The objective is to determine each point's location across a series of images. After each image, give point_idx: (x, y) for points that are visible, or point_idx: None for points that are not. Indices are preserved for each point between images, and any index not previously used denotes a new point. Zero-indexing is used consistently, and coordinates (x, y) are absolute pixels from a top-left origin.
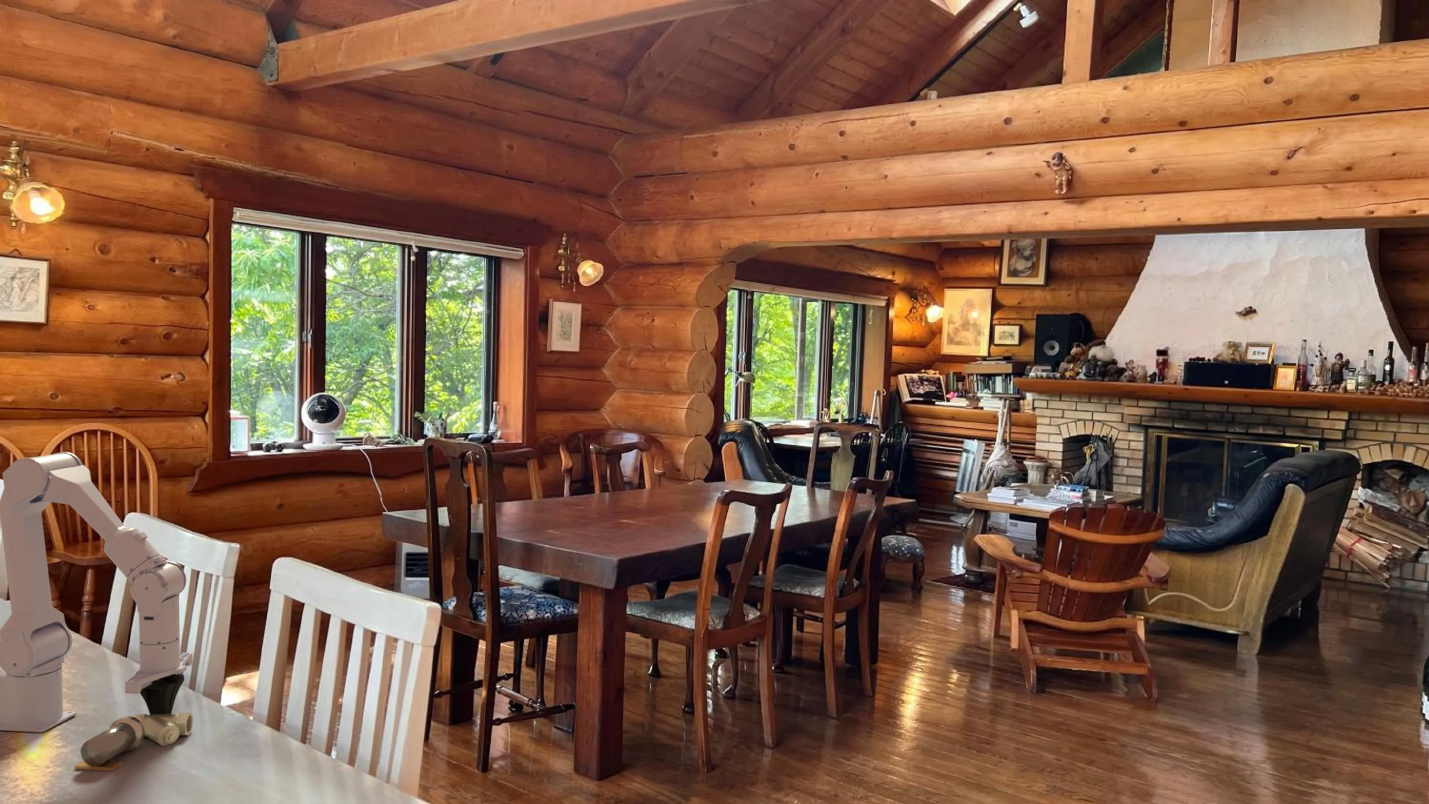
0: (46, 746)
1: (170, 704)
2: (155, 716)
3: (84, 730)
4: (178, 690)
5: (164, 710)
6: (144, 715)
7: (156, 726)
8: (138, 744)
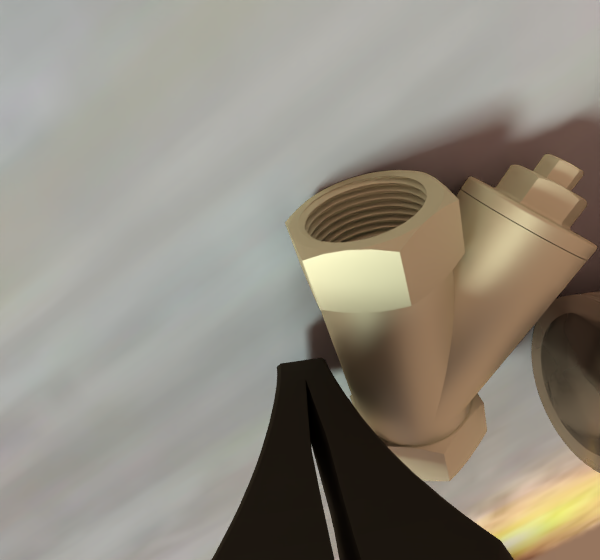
0: (497, 531)
1: (309, 434)
2: (441, 397)
3: None
4: (242, 512)
5: (358, 413)
6: (450, 444)
7: (546, 309)
8: (589, 292)
